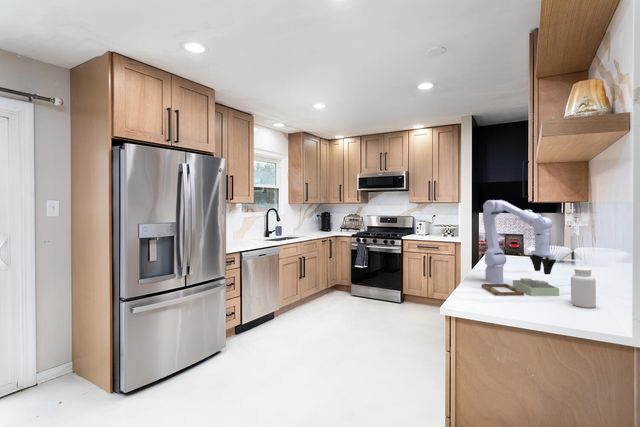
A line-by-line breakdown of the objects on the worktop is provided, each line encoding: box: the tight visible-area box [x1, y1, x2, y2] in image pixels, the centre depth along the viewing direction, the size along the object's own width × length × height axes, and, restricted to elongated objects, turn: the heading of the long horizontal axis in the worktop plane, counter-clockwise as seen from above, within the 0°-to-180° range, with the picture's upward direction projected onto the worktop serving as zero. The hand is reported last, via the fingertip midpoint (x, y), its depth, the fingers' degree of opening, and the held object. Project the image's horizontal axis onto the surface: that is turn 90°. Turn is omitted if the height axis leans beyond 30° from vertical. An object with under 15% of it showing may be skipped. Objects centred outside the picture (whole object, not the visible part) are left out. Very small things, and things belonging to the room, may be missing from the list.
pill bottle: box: [570, 267, 597, 309], centre depth 134 cm, size 8×8×15 cm
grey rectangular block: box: [519, 277, 535, 288], centre depth 157 cm, size 4×4×5 cm
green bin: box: [512, 279, 560, 297], centre depth 155 cm, size 16×12×4 cm
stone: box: [534, 280, 549, 288], centre depth 152 cm, size 4×4×5 cm
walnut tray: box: [481, 283, 525, 297], centre depth 156 cm, size 16×12×2 cm
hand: (542, 272), depth 152 cm, fingers open, 7 cm apart
